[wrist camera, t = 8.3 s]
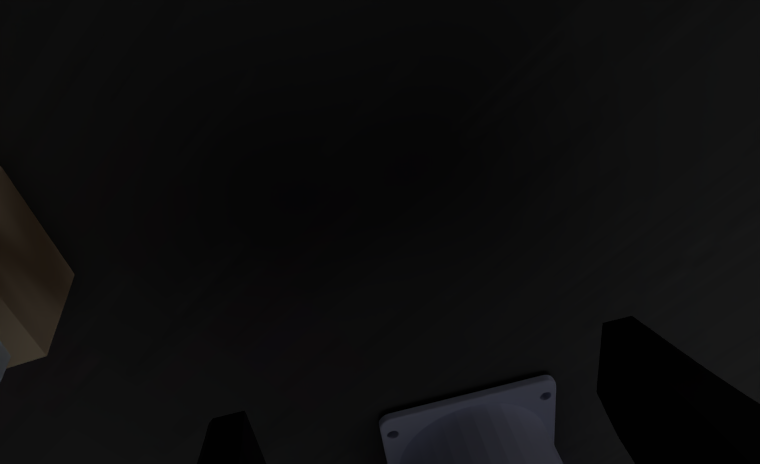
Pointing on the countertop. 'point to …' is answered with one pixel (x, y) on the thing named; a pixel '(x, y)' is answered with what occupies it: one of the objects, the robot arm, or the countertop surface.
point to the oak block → (28, 279)
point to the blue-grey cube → (3, 359)
